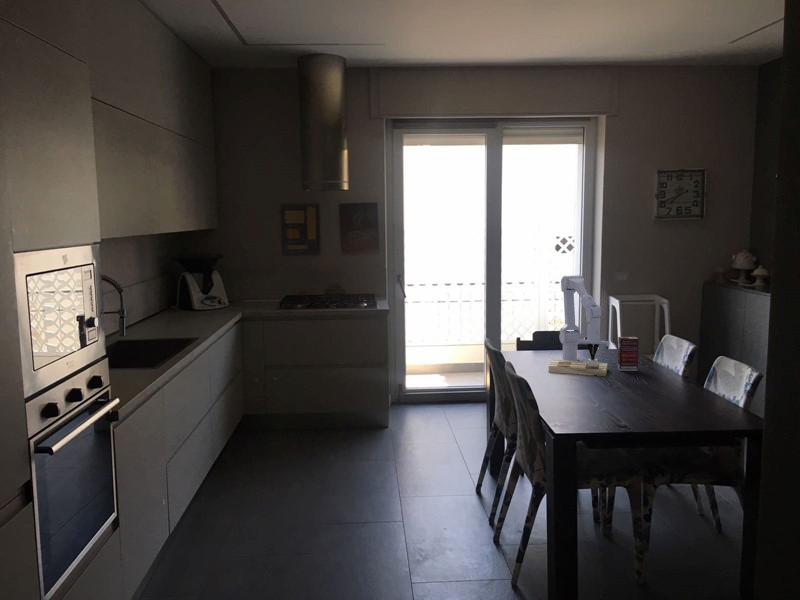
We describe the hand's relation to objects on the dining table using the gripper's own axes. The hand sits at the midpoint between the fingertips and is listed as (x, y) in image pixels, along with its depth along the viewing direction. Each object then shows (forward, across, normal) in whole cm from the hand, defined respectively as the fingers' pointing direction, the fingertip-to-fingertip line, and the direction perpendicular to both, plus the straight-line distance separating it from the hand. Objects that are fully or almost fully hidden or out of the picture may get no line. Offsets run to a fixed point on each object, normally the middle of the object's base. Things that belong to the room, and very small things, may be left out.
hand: (592, 359), depth 303 cm
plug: (+6, 0, 0) cm, 6 cm away
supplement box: (+6, +16, +9) cm, 19 cm away
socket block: (+6, -6, 0) cm, 9 cm away
